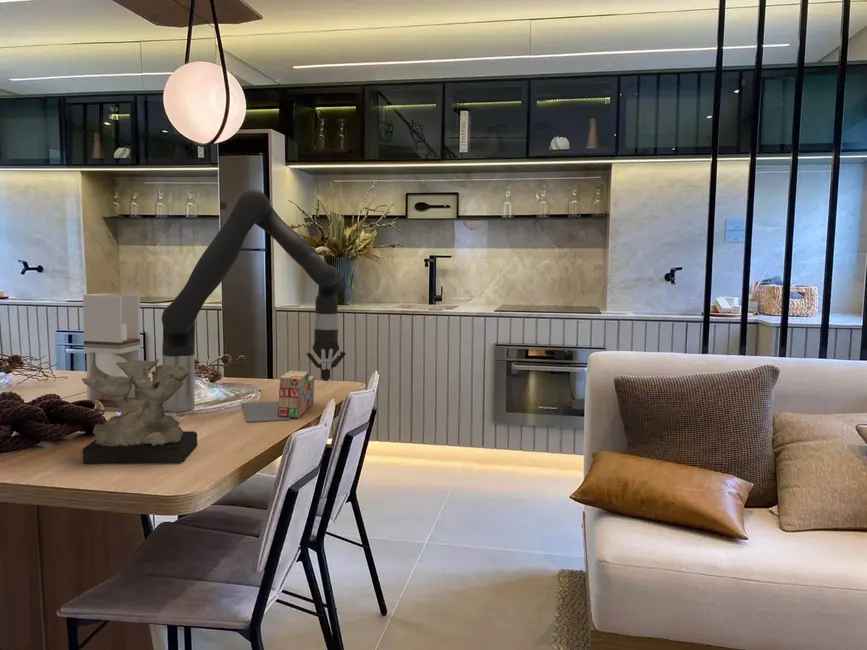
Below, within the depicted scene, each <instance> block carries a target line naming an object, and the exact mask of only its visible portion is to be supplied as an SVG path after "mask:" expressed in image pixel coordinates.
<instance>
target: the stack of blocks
mask: <svg viewBox="0 0 867 650" xmlns="http://www.w3.org/2000/svg"><path fill="white" fill-rule="evenodd" d="M314 395H315V376H314V375H310V371H304V370H303V371H300V370H289V371H287V372H286V373H284V374H283V375H281V376H279V389H278V401H279V407H278V416H279V417H290V418H294V419H298V418H300V417H301V416H302V415H303V414H305V412H306V410H307V409H308V408H310V406H312V404H313V403H314V398H315V397H314Z"/></svg>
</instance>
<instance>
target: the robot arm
mask: <svg viewBox="0 0 867 650" xmlns="http://www.w3.org/2000/svg"><path fill="white" fill-rule="evenodd" d="M236 201H237V202H236V203H235V205H234V207H233V208H232V210H231V212H230V215H229V216H228V218H227V219H226V221H225V222H224V224H223V225H222V227H221V228H220V229H219V231H218V232H217V233H216V234H215V236H214V238H213V240H212V241H211V242H210V243H209V245H207V247H206V249H205V250H204V252H203V253H202V254H201V256H200V258H199V259H198V261H197V262H196V264H195V266H194V268H193V270H192V271H191V274H190V276H189V277H188V280H187V281H186V284H184V287H183V288H182V289H181V291H180V292H179V293H178V295H177V296H176V297H175V298H174V299H173V300H172V302H171V303H170V304H169V305H168V306H167V307H166V308H165V309H164V310H163V312H162V314H161V323H162V348H161V351H162V353H161V354H162V359H161V360H162V361H161V362H162V364H161V365H168V366H169V365H172V366H173V365H180V366H183V367H185V368H187V369H189V370H190V374H189V375H188V376H187V377H186V378H185V379H184V380H183V381H182V382H184V384H183V385H182V386H181V387H180V388H178V390H177V391H176V392H175V393H174V394H173V395H172V396H171V398H170V399H168V400H166V401H165V402H164V403H163V405H162V406H163V407H164V412H170V413H175V412H176V413H177V412H178V413H179V412H188V411H192V410H193V408H194V409H195V403H196V401H195V392H196V390H195V389H196V388H195V383H196V382H195V377H196V376H195V371H196V369H195V367H196V366H195V360H196V359H195V351H196V350H195V348H196V347H195V346H196V339H195V338H196V319H197V317H198V315H199V313H200V311H201V309H202V307H203V306H204V304H205V303H206V301H207V300H208V298H209V297H210V296H211V295H212V293H213V292H215V290H216V289H217V288H218V286H220V284H221V283H222V281H224V279H225V278H226V276H227V275H228V274H229V272H230V271H231V270H232V267H233V266H234V265H235V263H236V262H237V260H238V257H239V254H240V252H241V250H242V248H243V244H244V241H245V240H246V239H245V238H247V235H248V233H249V232H250V230H251V229H252V228H253V227H254V226H255V225H256V226H258V227H259V228H260V229H262V230H263V231H264V232H266V234H268V235H269V236H271V237H272V238H273V239H274V240H275V241H276V242H277V243H278V245H279V246H280V247H281V248H282V249H283V250H284V251H285V252H286V253H287V254H288V256H289V257H290V258H291V259H293V260H294V261H295V262H296V263H297V264H298V265H299V266H300V267H301V268H302V269H303V270H304V271H305V273H306V274H307V276H308V277H310V279H311V280H312V281H313V282H314V283H316V285H317V286H318V289H317V292H318V293H317V296H316V298H315V302H314V303H315V304H314V305H315V308H314V310H315V312H314V313H315V315H314V319H313V320H314V321H313V323H314V326H313V329H314V331H313V335H314V336H313V337H314V338H313V346H312V349H310V350H309V351H307V352H306V353H305V355H306V356H307V358H308V359H309V360H310V361H311V362H312V364H313V365H314V366H315V367H316V368H318V369H320V378H321V380H322V381H323V382H329V380H330V379H331V370H332V369H333V368H336V367H337V366H338V365H339V363H340V362H341V361H342V359H343V358H344V357H345V356H346V352H345V351H344V350H342V349H340V346H339V318H338V297H339V290H340V289H339V288H340V281H341V278H340V272H339V270H338V269H337V268H336V267H335V266H333V265H331V264H328V263H327V262H326V261H325V260H324V259H323V258H322V257H321V256H320V254H319V253H318V251H317V250H316V249H315V248H314V246H313V245H311V244H310V243H309V242H308V241H307V240H306V239H305V238H304V237H303V236H301V235H300V234H299V233H298V232H296V231H295V230H294V229H293V228H291V226H289V225H288V224H287V223H286V222H285V221H284V220H283V219H282V218H281V217H280V216H279V214H278V212H276V210H275V209H274V208H273V206H272V204H271V201H270V200H269V199H268V197H267V195H266V194H265V193H264V192H263V191H261V190H260V189H257V188H250V189H247V190H245V191H244V192H243V193H242V194H241V195H240V196H239V197H238V199H237V200H236ZM315 355H316V356H317V357H318V359H319V362H320V363H319V362H318V361H317V360H316V359H315ZM335 355H336V357H335ZM334 357H335V358H334ZM333 358H334V360H332V359H333ZM182 382H181V383H182ZM191 409H192V410H191Z"/></svg>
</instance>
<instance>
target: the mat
mask: <svg viewBox="0 0 867 650" xmlns="http://www.w3.org/2000/svg"><path fill="white" fill-rule="evenodd" d="M241 406H242V407H241V408H242V411H243V413H244V414H243V415H244V417H245V421H246V423H248V424H249V423H250V424H251V423H267V422H285V421H291V417H279V416H278V407H279V400H278V401H259V402H258V401H256V402H242V403H241Z"/></svg>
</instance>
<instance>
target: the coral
mask: <svg viewBox="0 0 867 650" xmlns="http://www.w3.org/2000/svg"><path fill="white" fill-rule="evenodd" d="M159 361H160V359H159V358H156V359H155V360H153V361H150V360H141V359H140V360H138V361H131V362H122V363H121V362H118V363H116V365H118V366H119V368H120V369H121V370H122V371H124V372H125V374H126V375H127V376H128V377H124V376H123V377H122V376H113V375H111V376H108V378H109V379H110V380H108V381H107V380H105V379H104V378H103V377H102V376H96V375H95V376H92V377H89V378H87V377H85V378H84V377H82V379H81V381H82V383H83V384H85V385H86V386H87V385H88V386H89V387H91V388H93V389H94V390H96V391H97V392H99V393H101V394H102V395H104V396H106V397H108V398H110V399H111V400H113V401H114V402H115V403H116V404H117V405H118V407H119V408H120V409H121V413H120V415H113V416H111V417H110V418H109V419H108V420H107V421H106V422H104V423H103V424H101V423H98V424H97V423H96V424H95V425H94V428H92V429H93V430H92V433H93V435H94V436H95V440H93V441H91V442H90V443H88V444H87V445H86V446H84V447H83V448H82V450H81V451H82V464H87V465H93V464H94V465H96V464H97V465H99V464H100V465H102V464H103V465H104V464H105V465H110V464H111V465H112V464H113V465H115V464H116V465H118V464H120V465H121V464H126V465H127V464H129V465H130V464H131V465H132V464H135V465H136V464H141V465H142V464H182V463H181V462H183V463H185V461H186V460H187V459H186V458H187V457H188V458H189V456H190V455H191V454H192V453H193V452H194V450H195V449H196V448H197V447H198V432H196V431H193V430H191V431H186V430H185V431H184V430H183V429H182V427H181V426H179V425H181V422H180V421H178V420H176V419H175V418H174V417H173V416H171V415H166V414H165V411H164V407H163V406H162V405H163V403H164V402H165V401H166V400H168V399H170V398H171V396H172V395H173V394H174V393H175V392H176V391H177V390H178V388H180V387H181V386H182V385H183V384H184V382H182V381H183V380H184V379H185V378H186V377H187V376H188V375H189V374H190V370H189V369H187V368H185V367H183V366H180V365H173V366H172V365H169V366H168V365H162V364H160V365H157V364H158V362H159ZM156 365H157V366H156ZM155 366H156V369H155V370H153V371H152V372H151V375H152V376H149V372H150V371H151V370H152V368H154V367H155ZM151 378H152V379H151ZM181 382H182V383H181ZM132 383H133V385H134V386H135V399H130V398H128V397H127V395H128V394H129V392H130V391H131V388H132ZM185 459H186V460H185Z"/></svg>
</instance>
